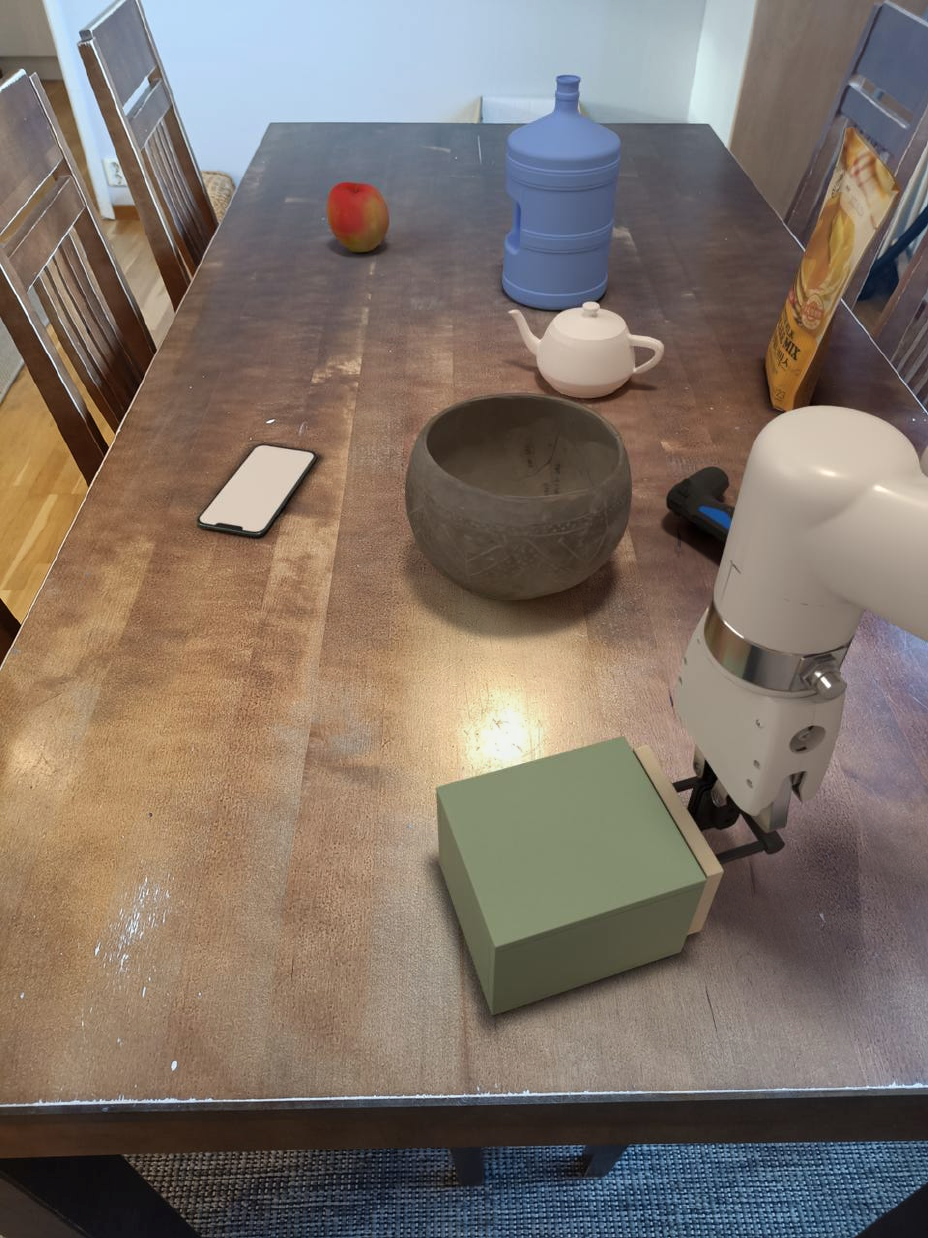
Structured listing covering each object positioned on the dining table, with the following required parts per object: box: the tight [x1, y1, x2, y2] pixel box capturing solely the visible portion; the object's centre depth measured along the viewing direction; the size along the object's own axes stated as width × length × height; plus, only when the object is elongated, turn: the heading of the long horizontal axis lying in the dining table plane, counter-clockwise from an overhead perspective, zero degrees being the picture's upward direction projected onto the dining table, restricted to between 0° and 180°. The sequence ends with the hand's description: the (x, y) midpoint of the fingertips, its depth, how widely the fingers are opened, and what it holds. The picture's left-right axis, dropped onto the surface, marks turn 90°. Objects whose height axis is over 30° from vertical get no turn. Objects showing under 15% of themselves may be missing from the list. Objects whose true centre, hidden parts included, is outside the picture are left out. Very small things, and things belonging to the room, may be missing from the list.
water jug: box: [501, 74, 622, 311], centre depth 125 cm, size 16×16×28 cm
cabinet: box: [435, 735, 707, 1016], centre depth 60 cm, size 14×12×10 cm
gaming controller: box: [665, 466, 736, 544], centre depth 90 cm, size 17×6×10 cm
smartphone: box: [196, 443, 318, 537], centre depth 98 cm, size 8×1×16 cm
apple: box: [326, 181, 390, 253], centre depth 143 cm, size 10×10×10 cm
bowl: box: [404, 391, 633, 601], centre depth 84 cm, size 21×21×15 cm
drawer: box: [632, 743, 786, 936], centre depth 61 cm, size 19×10×8 cm, turn 108°
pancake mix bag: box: [765, 126, 902, 413], centre depth 105 cm, size 7×19×28 cm, turn 171°
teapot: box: [507, 301, 665, 399], centre depth 112 cm, size 20×12×10 cm, turn 70°
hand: (711, 817), depth 62 cm, fingers closed
